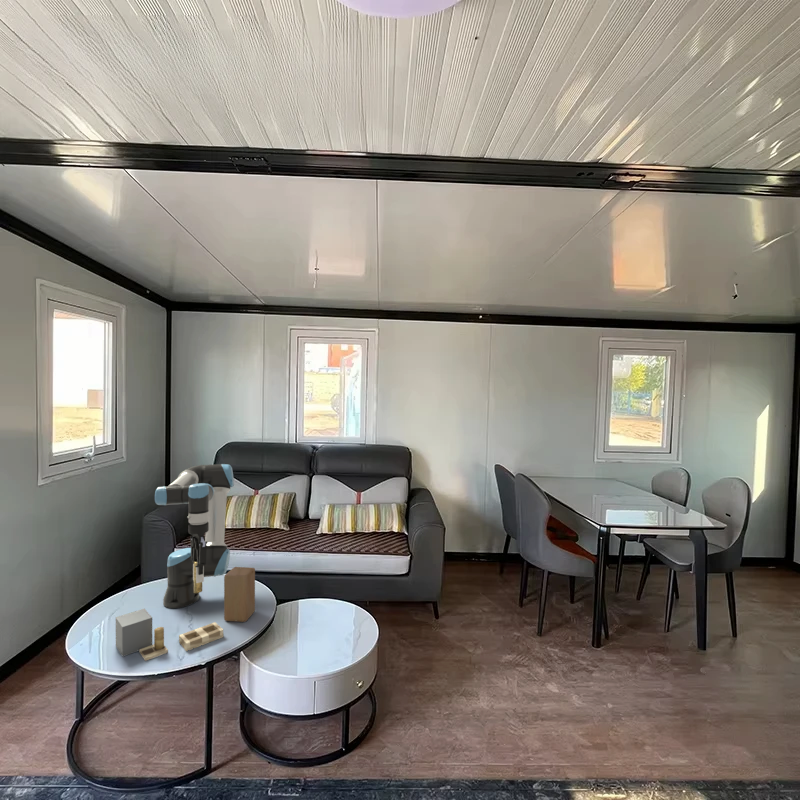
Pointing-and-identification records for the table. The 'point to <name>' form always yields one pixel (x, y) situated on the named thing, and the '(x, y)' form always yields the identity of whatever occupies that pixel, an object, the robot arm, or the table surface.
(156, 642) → the tan base with post
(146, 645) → the block
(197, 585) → the pin
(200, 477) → the robot arm
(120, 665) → the table surface
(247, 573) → the wooden block
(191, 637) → the board
